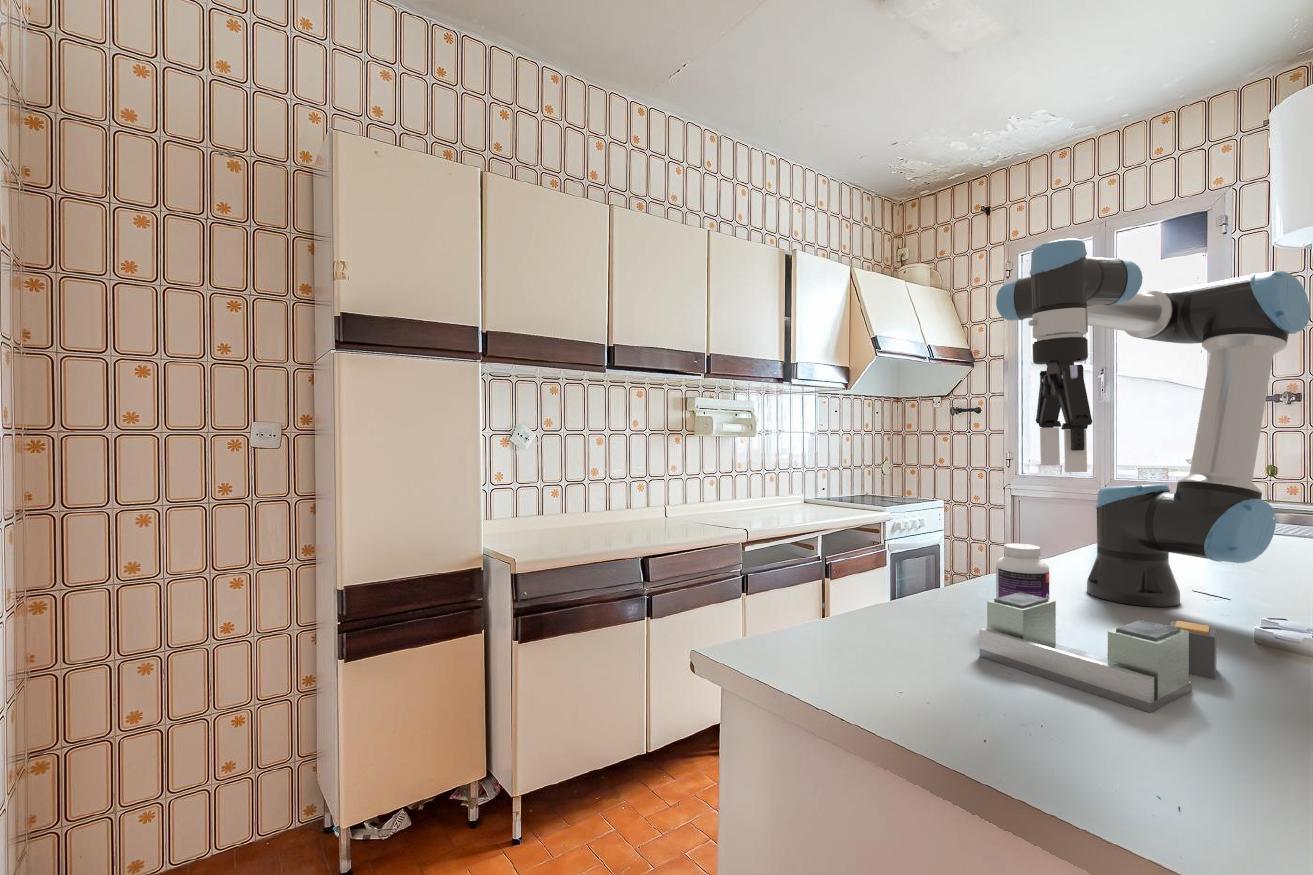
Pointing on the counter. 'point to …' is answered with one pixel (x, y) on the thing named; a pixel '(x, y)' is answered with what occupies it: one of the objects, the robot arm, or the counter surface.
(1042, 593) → the pill bottle
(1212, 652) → the block
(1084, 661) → the rail plate
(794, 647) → the counter surface
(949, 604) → the counter surface
